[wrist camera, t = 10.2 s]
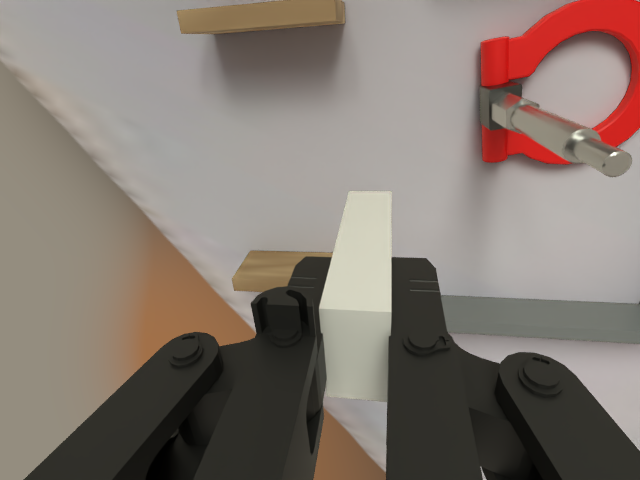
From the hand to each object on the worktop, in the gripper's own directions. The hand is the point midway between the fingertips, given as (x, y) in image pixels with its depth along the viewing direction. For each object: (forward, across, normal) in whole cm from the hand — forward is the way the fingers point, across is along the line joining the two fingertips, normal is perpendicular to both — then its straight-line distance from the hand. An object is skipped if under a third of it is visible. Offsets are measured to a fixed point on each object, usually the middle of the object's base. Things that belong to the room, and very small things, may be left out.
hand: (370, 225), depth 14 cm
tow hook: (+12, +10, +3) cm, 16 cm away
